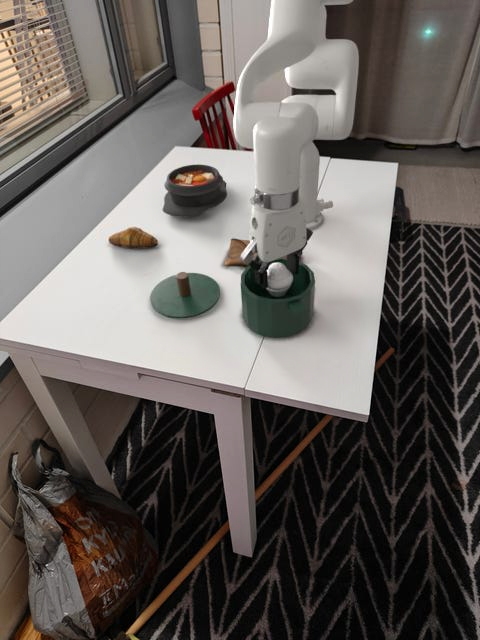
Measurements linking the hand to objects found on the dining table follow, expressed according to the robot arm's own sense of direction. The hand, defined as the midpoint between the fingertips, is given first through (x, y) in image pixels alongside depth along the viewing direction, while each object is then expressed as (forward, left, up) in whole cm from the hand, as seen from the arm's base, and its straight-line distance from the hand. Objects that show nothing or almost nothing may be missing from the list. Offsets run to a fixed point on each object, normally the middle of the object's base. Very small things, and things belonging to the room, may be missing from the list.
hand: (277, 277), depth 91 cm
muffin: (0, 0, -4) cm, 4 cm away
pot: (0, 0, -10) cm, 10 cm away
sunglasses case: (-5, -19, -10) cm, 22 cm away
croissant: (+22, -41, -10) cm, 48 cm away
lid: (+16, -14, -9) cm, 23 cm away
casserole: (0, -56, -10) cm, 57 cm away
